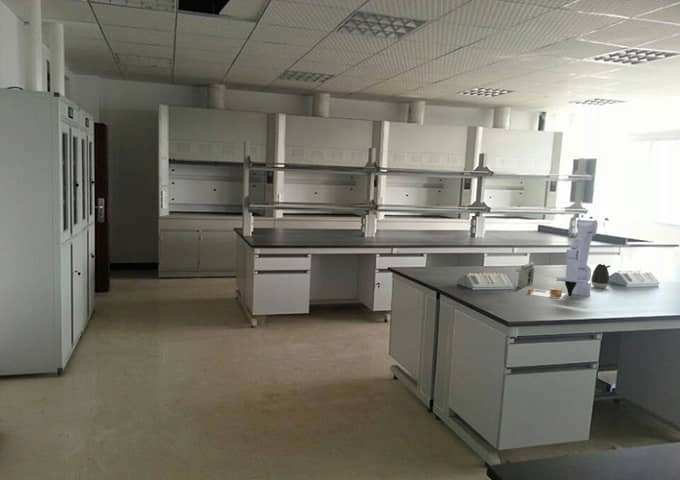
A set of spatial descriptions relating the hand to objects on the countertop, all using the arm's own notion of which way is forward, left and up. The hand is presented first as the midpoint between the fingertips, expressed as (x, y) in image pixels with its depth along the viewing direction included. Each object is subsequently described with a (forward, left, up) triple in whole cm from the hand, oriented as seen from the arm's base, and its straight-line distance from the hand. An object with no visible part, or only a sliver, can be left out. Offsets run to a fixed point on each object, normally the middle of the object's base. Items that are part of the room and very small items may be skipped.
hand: (569, 295), depth 288 cm
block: (+7, 0, -1) cm, 7 cm away
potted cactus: (-10, -55, -3) cm, 56 cm away
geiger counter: (+29, -30, -3) cm, 42 cm away
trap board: (+12, -4, -3) cm, 13 cm away
